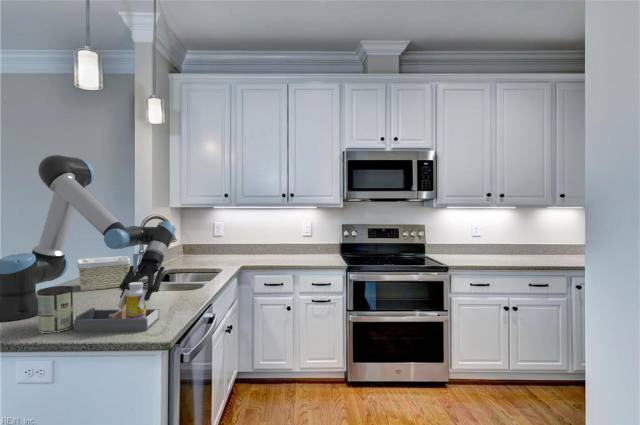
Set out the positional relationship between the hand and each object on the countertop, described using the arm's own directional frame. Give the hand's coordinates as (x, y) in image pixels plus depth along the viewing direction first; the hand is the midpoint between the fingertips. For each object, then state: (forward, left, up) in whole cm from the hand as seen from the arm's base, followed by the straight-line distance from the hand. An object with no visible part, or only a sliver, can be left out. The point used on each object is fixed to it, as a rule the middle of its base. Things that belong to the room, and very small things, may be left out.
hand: (130, 307), depth 137 cm
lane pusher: (-6, +3, -6) cm, 9 cm away
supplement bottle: (+1, +4, -5) cm, 6 cm away
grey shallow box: (-5, +3, -7) cm, 10 cm away
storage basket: (-41, +69, -8) cm, 81 cm away
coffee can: (-25, 0, -8) cm, 26 cm away
